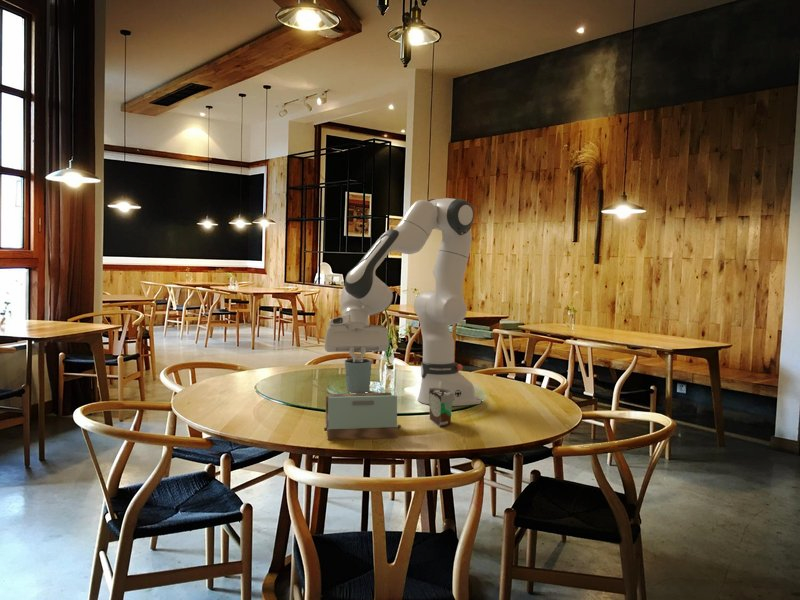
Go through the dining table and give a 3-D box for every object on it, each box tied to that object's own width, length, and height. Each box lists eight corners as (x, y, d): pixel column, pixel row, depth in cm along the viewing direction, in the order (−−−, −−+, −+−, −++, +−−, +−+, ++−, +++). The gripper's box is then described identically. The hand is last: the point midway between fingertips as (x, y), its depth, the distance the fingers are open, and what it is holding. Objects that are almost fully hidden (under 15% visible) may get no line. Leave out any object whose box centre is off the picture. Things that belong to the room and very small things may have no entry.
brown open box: (393, 424, 204) (393, 392, 203) (400, 438, 189) (401, 404, 188) (322, 426, 200) (322, 394, 199) (324, 440, 186) (324, 406, 185)
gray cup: (373, 389, 251) (373, 358, 250) (369, 395, 241) (369, 363, 240) (347, 388, 252) (347, 357, 251) (342, 394, 242) (342, 362, 241)
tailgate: (396, 426, 190) (396, 395, 190) (397, 427, 188) (397, 396, 188) (328, 428, 187) (328, 396, 187) (328, 429, 185) (328, 397, 185)
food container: (460, 427, 201) (460, 395, 200) (441, 428, 199) (441, 396, 198) (446, 417, 213) (446, 386, 212) (428, 418, 211) (428, 387, 210)
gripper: (386, 331, 216) (390, 366, 207) (323, 331, 212) (325, 367, 204) (388, 319, 211) (392, 354, 202) (324, 319, 208) (326, 355, 199)
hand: (358, 361), depth 203 cm, fingers closed
